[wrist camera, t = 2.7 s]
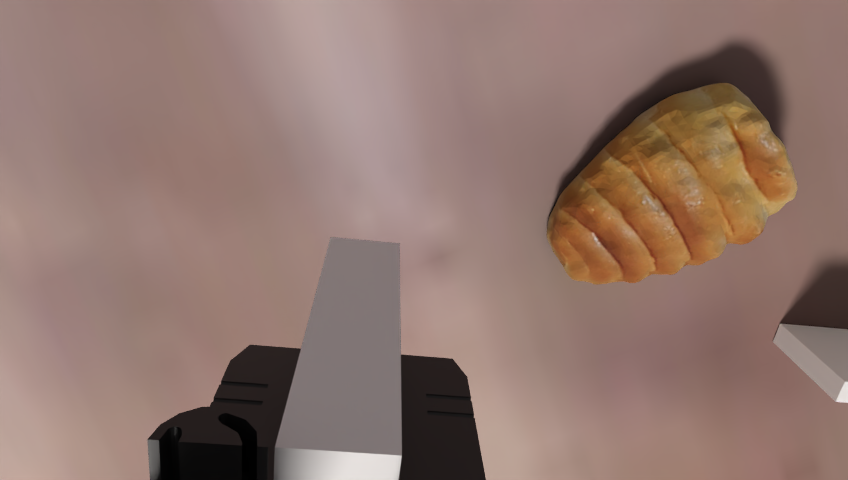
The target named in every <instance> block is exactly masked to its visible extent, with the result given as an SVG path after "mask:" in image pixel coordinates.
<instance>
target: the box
mask: <svg viewBox="0 0 848 480" xmlns="http://www.w3.org/2000/svg"><path fill="white" fill-rule="evenodd" d="M773 342H774V343H775V344H776V345H777V346H778V347H779V348H780V349H781V350H782V351H783V352H784V353H785V354H786V355H787V356H788V357H789V358H790V359H792V360H793V361H794V362H795V363H796V364H797V365H798V366H799V367H800V368H801V369H802V370H803V371H804V372H805V373H806V374H807V375H808V376H809V377H810V378H811V379H812V380H813V381H814V382H815V383H817V384H818V385H819V386H820V387H821V388H822V389H823V390H824V391H825V392H826V393H827V394H828V395H829V396H830V397H831V398H832V399H833V400H834V401H835V402H846V403H848V329H838V328H827V327H815V326H803V325H791V324H780V325H779V328H778V330H777V333H776V335H775V338H774V340H773Z"/></svg>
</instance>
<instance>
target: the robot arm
mask: <svg viewBox="0 0 848 480" xmlns="http://www.w3.org/2000/svg"><path fill="white" fill-rule="evenodd" d="M470 400H471V396H470V390H469V385H468V379H467V376H466V375H465V374H464V372H463V371H462V370H461V369H460V368H459V366H458V365H457V364H456V363H455V361H454V360H453V359H449V358H437V357H424V356H411V355H401V329H400V243H391V242H380V241H370V240H359V239H348V238H338V237H331V238H330V242H329V245H328V249H327V253H326V257H325V260H324V264H323V268H322V272H321V276H320V279H319V283H318V287H317V291H316V294H315V298H314V302H313V306H312V309H311V313H310V317H309V321H308V324H307V328H306V332H305V336H304V339H303V343H302V347H301V349H297V348H284V347H272V346H259V345H249V346H248V347H247V348H246V349H244V350H243V351H242V352H241V353H239V354H238V355H237V356H236V357H234V358H233V359H232V360H231V361H230V363H229V365H228V367H227V369H226V372H225V374H224V376H223V378H222V381H221V385H219V387H218V389H217V392H216V394H215V396H214V401H213V402H212V403H211V405H210V407H200V408H197V409H193V410H190V411H186V412H183V413H179V414H178V415H176V416H174V417H173V418H171V419H169V420H167V421H166V422H164V423H162V424H161V425H160V426H159V427H158V428H157V429H156V430H155V431H154V433H153V434H152V435H151V436H150V437H149V438H148V455H149V471H150V480H486V479H485V473H484V467H483V462H482V456H481V451H480V445H479V440H478V434H477V429H476V423H475V418H474V412H473V407H472V401H470Z"/></svg>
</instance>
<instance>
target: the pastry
mask: <svg viewBox="0 0 848 480" xmlns="http://www.w3.org/2000/svg"><path fill="white" fill-rule="evenodd" d="M796 191H797V182H796V180H795V175H794V171H793V168H792V165H791V162H790V159H789V157H788V154H787V151H786V148H785V146H784V145H783V143H782V142H781V140H780V139H779V138H778V137H777V136H776V135H775V134H774V133H773V132H772V130H771V128H770V124H769V122H768V121H767V120H766V118H765V117H764V116H763V115H762V113H761V112H760V111H759V110H758V109H757V107H756V106H755V105H754V104H753V103H752V102H751V100H750V99H749V98H748V97H747V96H746V95H744V94H743V93H742V92H741V91H740V90H739V89H738V88H736V87H735V86H734V85H732V84H729V83H717V84H711V85H707V86H703V87H700V88H697V89H694V90H690V91H685V92H682V93H678V94H674V95H672V96H670V97H668V98H666V99H664V100H662V101H660V102H659V103H657V104H656V105H654V106H653V107H651V108H649V109H648V110H646V111H645V112H643V113H641V114H640V115H639V116H638V117H637V118H636V119H635V120H634V121H633V122H632V123H631V124H630V125H629V126H628V127H627V128H625V129H624V130H622V131H621V132H620V133H619V134H618V135H617V136H616V137H615V138H614V139H613V140H612V141H610V142H609V143H608V144H607V145H606V146H605V147H604V148H603V149H602V150H601V151H600V152H599V153H598V155H597V156H596V157H595V158H594V159H593V160H592V161H591V162H590V163H589V164H588V165H587V166H586V167H585V168H584V169H583V170H582V171H581V172H580V173H579V174H578V175H577V176H576V177H575V179H574V180H573V181H572V182H571V183H570V184H569V185H568V186H567V187H566V188H565V189H564V190H563V192H562V193H561V195H560V196H559V198H558V200H557V203H556V205H555V207H554V209H553V211H552V212H551V214H550V217H549V220H548V225H547V240H548V242H549V244H550V246H551V248H552V250H553V252H554V253H555V255H556V256H557V258H558V259H559V260H560V262H561V264H562V265H563V267H564V269H565V271H566V273H567V274H568V275H569V276H570V277H571V278H572V279H573V280H577V281H585V282H590V283H593V284H606V283H610V282H619V281H625V282H629V283H636V282H639V281H641V280H642V279H644V278H645V277H647V276H649V275H651V274H668V275H671V274H675V273H677V272H678V271H679V270H680V269H681V268H682V267H683V266H686V265H700V264H703V263H705V262H706V261H708V260H711V259H714V258H717V257H718V256H719V255H721V254H722V253H723V251H724V249H725V246H726V244H728V243H733V244H741V245H742V244H746V243H749V242H751V241H752V240H753V239H755V238H756V237H757V236H759V235H760V234H761V233H762V232H763V229H764V226H765V223H766V220H767V218H768V216H769V215H772V214H774V213H776V212H778V211H779V210H780V209H781V208H782V207H783V206H784V205H785V204H786V203H787V202H788V201H790V200H793V198H794V197H795V196H796Z"/></svg>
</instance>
